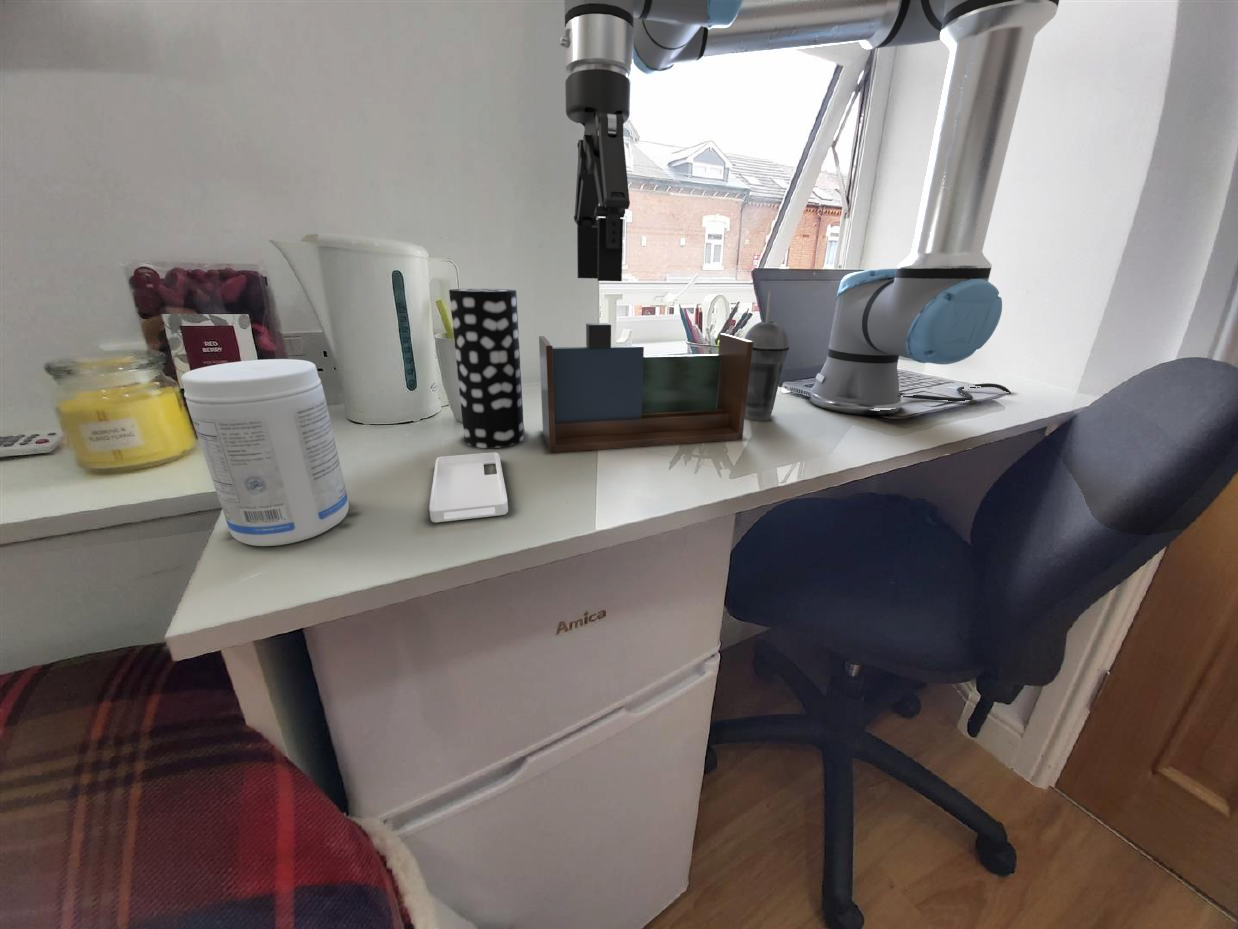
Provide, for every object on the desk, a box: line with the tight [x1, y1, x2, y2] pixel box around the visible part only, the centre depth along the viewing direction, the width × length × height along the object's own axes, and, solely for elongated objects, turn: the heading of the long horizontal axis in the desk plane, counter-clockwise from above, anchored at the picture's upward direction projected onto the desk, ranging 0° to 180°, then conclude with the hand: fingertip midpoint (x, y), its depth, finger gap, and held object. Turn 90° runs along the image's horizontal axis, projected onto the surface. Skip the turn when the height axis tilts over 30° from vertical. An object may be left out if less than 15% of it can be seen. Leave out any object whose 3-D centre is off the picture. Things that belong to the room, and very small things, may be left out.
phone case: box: [428, 452, 509, 523], centre depth 54 cm, size 7×1×15 cm
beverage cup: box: [744, 290, 790, 422], centre depth 80 cm, size 7×7×20 cm
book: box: [553, 322, 645, 423], centre depth 68 cm, size 12×2×15 cm, turn 104°
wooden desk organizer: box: [538, 333, 753, 454], centre depth 70 cm, size 28×9×14 cm, turn 104°
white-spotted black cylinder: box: [448, 288, 525, 449], centre depth 67 cm, size 8×8×20 cm
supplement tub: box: [180, 358, 350, 547], centre depth 44 cm, size 10×10×15 cm
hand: (597, 279), depth 63 cm, fingers open, 13 cm apart
